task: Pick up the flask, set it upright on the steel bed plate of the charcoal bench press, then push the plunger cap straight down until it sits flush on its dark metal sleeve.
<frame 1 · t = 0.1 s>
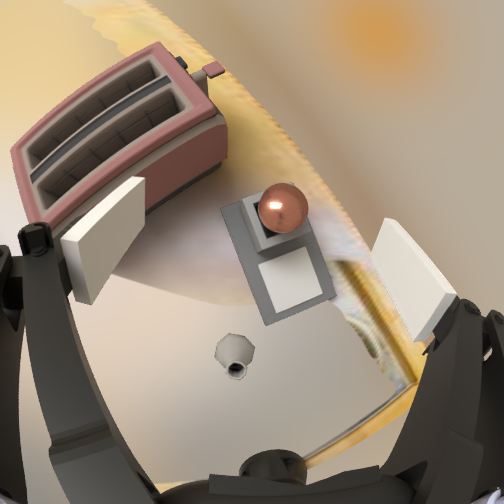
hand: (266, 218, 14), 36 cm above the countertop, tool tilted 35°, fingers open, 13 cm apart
flask: (234, 351, 49), on the countertop
toaster: (145, 166, 50), on the countertop
plunger: (278, 213, 40), point 11 cm above the countertop, slide at 3.0 cm
press: (278, 253, 50), on the countertop
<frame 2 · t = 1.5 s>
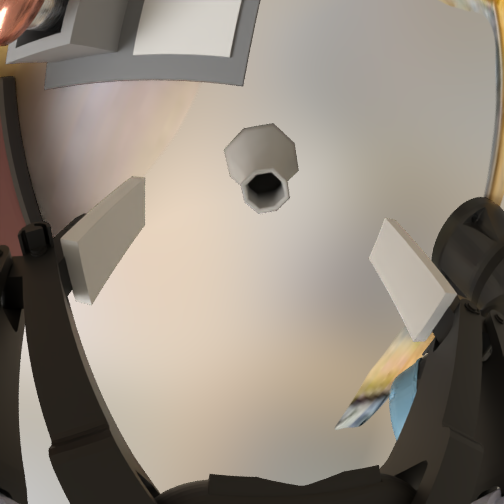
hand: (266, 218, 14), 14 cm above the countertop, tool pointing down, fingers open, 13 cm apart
flask: (261, 158, 27), on the countertop
plunger: (35, 9, 8), point 11 cm above the countertop, slide at 3.0 cm
press: (145, 19, 18), on the countertop
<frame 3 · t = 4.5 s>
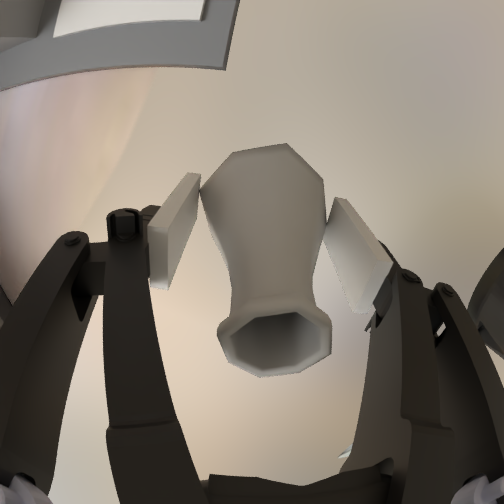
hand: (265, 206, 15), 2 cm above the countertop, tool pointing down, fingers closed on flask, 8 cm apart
flask: (264, 204, 16), point 1 cm above the countertop, touching gripper
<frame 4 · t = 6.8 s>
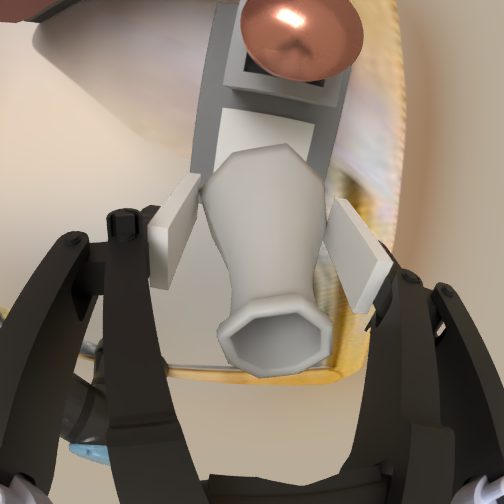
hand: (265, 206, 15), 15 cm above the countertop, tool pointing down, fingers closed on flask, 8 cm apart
flask: (264, 204, 16), point 15 cm above the countertop, touching gripper
plunger: (293, 40, 14), point 11 cm above the countertop, slide at 3.0 cm
press: (269, 109, 26), on the countertop
when the fingers open (4 cm above the countertop, at t = 9.4 s): flask stays where it is, resting on press.
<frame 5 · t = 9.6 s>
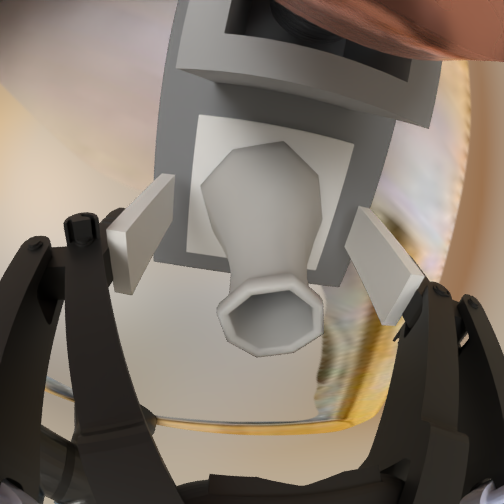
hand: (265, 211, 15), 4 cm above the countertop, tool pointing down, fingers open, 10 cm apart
flask: (263, 199, 17), point 2 cm above the countertop, touching press
press: (277, 115, 16), on the countertop
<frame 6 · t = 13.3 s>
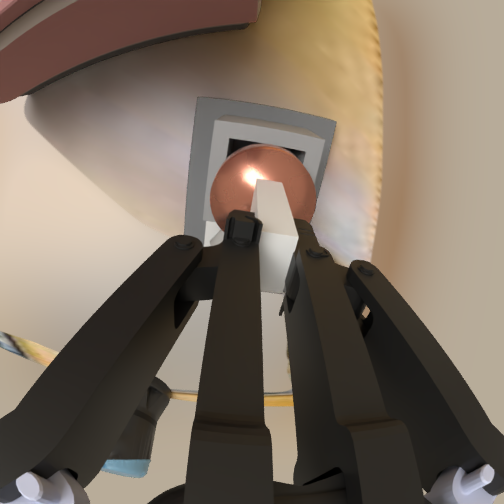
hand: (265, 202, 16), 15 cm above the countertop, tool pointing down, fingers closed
plunger: (261, 181, 20), point 10 cm above the countertop, slide at 2.2 cm, touching gripper
press: (250, 200, 31), on the countertop
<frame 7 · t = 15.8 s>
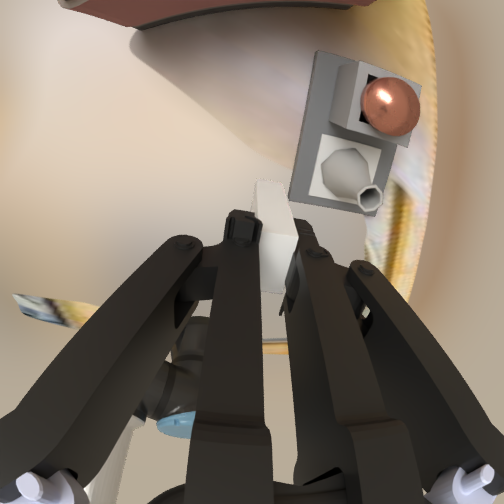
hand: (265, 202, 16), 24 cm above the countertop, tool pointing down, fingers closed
flask: (344, 171, 36), point 2 cm above the countertop, touching press
plunger: (379, 103, 26), point 8 cm above the countertop, slide at -0.1 cm
press: (348, 135, 35), on the countertop
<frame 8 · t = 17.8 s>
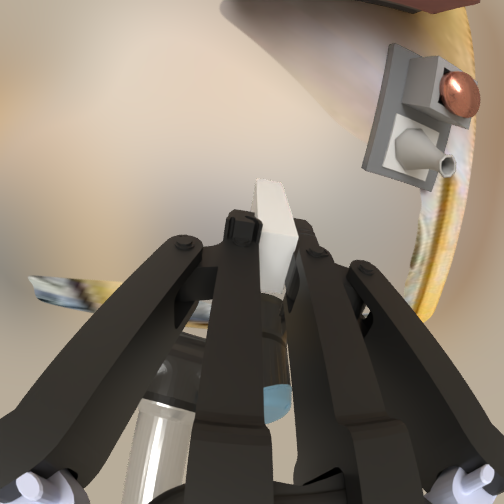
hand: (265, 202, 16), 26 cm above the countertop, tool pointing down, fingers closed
flask: (411, 148, 36), point 2 cm above the countertop, touching press
plunger: (447, 92, 26), point 8 cm above the countertop, slide at -0.1 cm
press: (412, 118, 35), on the countertop
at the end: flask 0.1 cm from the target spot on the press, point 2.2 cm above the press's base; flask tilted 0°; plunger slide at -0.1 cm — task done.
